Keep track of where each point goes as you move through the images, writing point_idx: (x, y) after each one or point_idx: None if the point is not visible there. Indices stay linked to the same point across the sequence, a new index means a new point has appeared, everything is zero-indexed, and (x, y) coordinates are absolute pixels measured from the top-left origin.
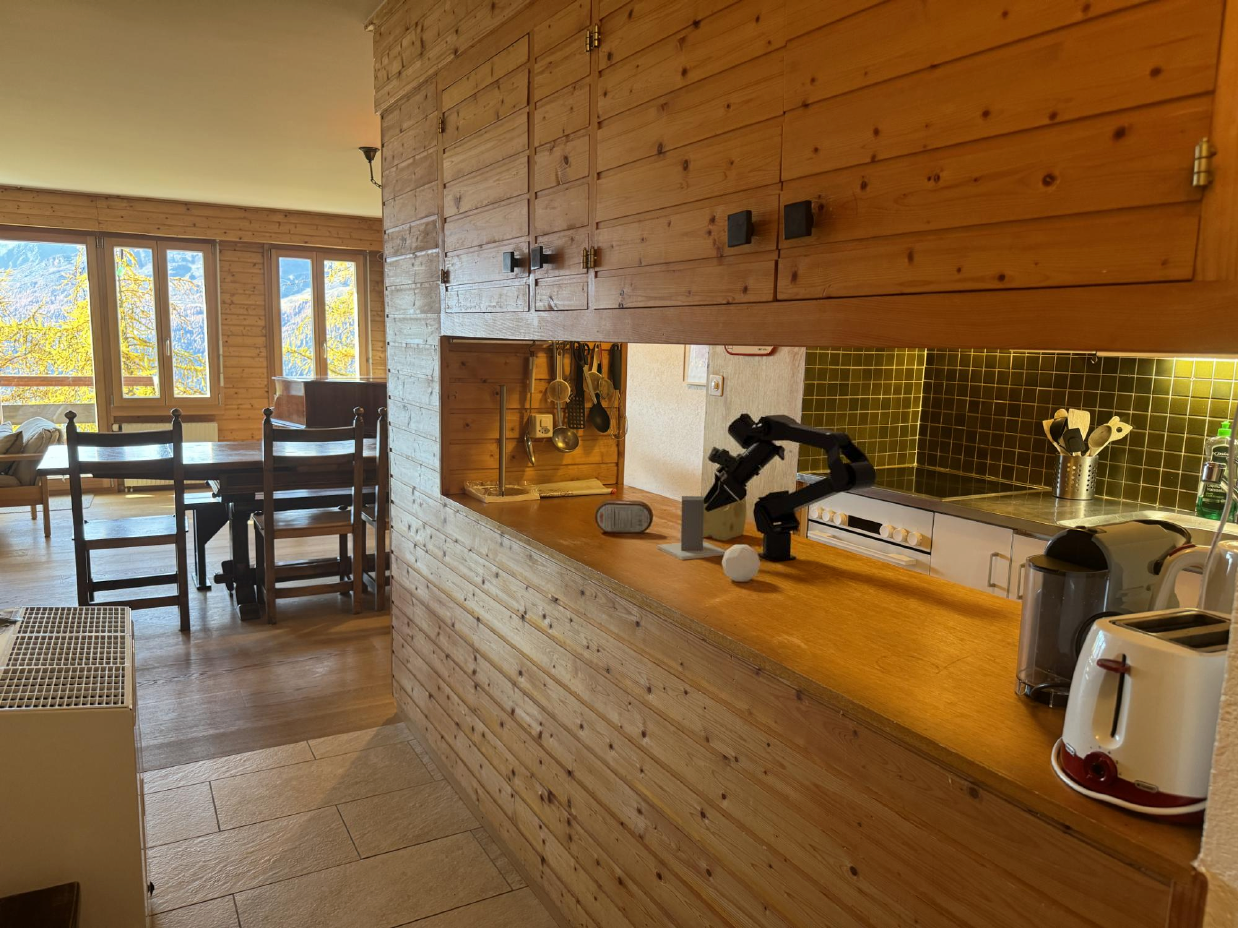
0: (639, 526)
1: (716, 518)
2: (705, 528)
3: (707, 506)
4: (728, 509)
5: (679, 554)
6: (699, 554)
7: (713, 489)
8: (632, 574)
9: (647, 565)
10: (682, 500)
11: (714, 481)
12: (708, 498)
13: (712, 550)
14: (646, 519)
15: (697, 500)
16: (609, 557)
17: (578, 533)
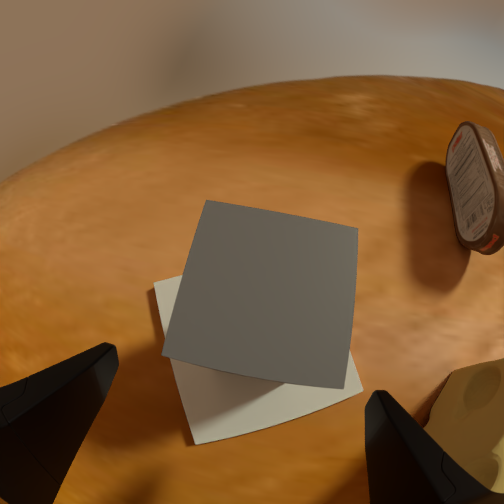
0: (466, 224)
1: (446, 449)
2: (446, 408)
3: (87, 353)
4: None
5: (177, 282)
6: None
7: (411, 483)
8: (83, 166)
9: (130, 195)
10: (206, 205)
11: (490, 493)
12: (376, 433)
13: (213, 403)
14: (478, 230)
15: (175, 306)
16: (222, 135)
17: (425, 130)
